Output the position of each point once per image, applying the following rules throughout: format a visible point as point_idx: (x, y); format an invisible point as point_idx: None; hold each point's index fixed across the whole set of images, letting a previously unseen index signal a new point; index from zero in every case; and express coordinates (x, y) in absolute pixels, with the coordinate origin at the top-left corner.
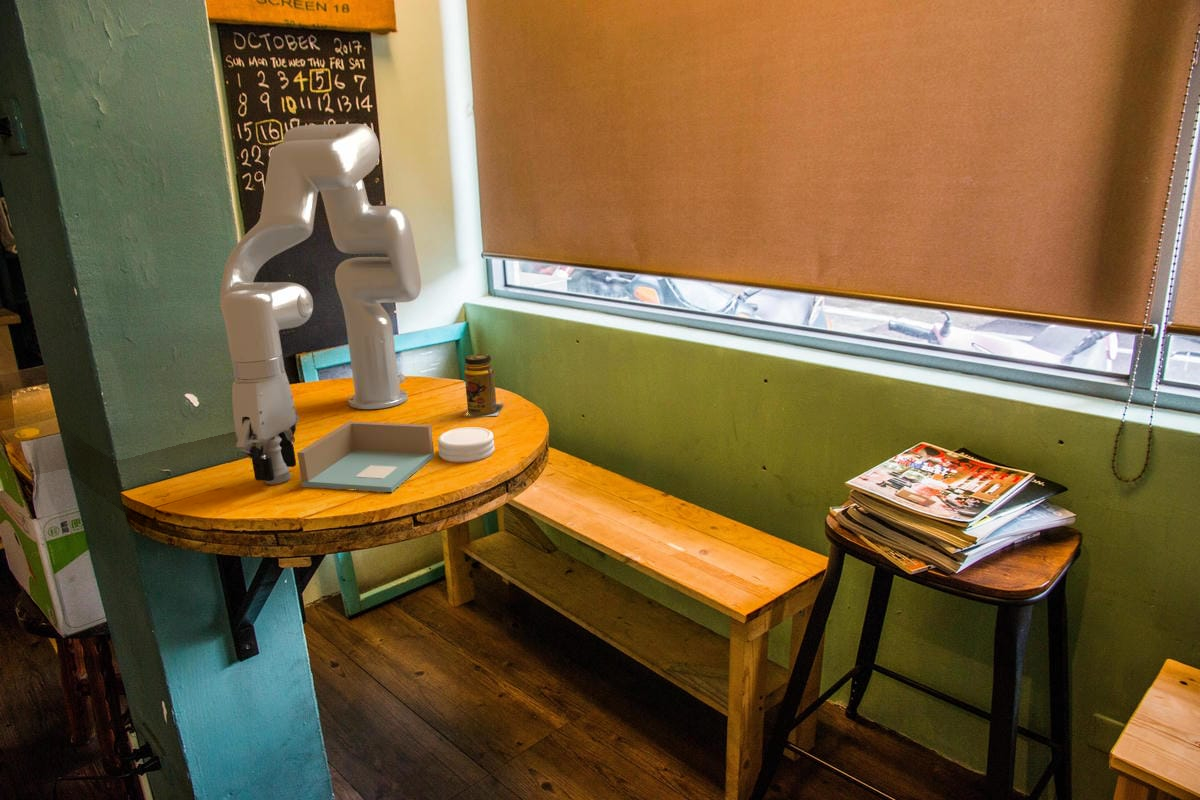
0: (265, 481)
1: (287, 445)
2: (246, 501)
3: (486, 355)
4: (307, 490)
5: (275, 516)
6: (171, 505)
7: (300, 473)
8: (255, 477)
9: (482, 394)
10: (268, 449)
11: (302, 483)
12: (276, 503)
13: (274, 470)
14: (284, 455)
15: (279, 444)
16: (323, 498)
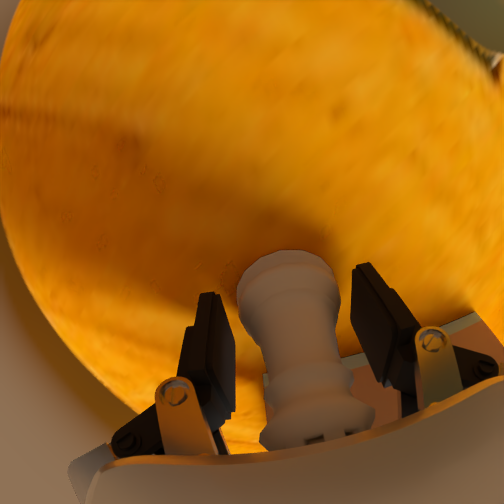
0: (238, 289)
1: (386, 374)
2: (121, 317)
3: None
4: (249, 389)
5: (127, 399)
6: (5, 137)
7: (266, 406)
8: (200, 298)
9: None
10: (273, 411)
11: (264, 382)
12: (160, 378)
13: (259, 345)
14: (368, 328)
15: (396, 349)
16: (229, 420)
